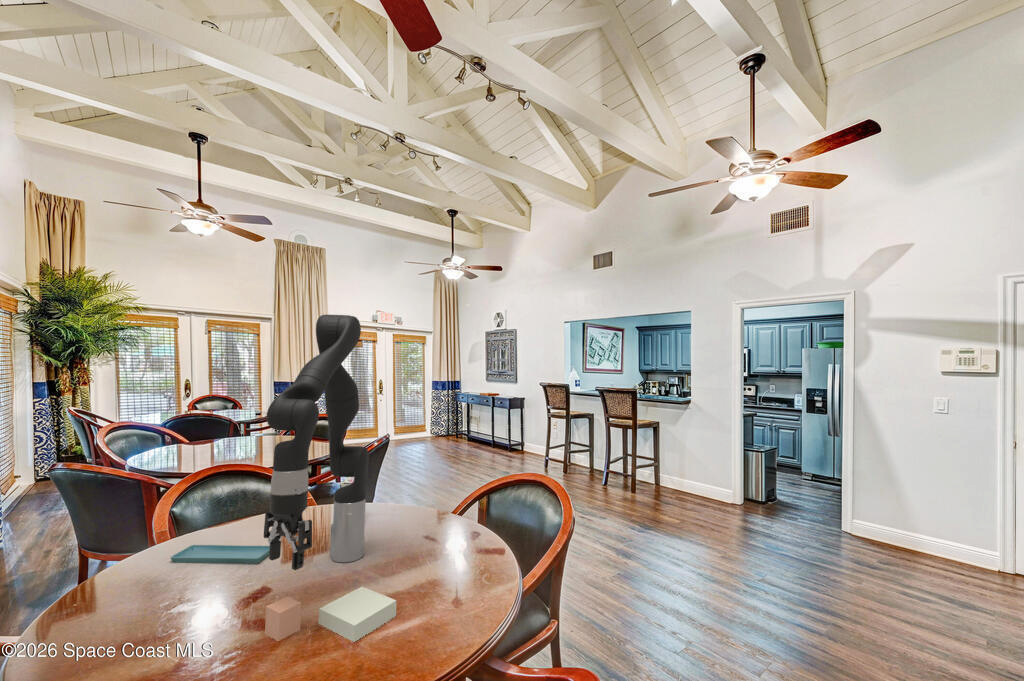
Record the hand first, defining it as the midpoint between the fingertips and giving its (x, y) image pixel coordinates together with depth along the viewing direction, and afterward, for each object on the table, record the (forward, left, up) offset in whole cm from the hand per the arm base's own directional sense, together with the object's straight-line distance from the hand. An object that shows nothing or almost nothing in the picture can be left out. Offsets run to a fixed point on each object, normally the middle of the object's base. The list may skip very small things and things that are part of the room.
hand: (285, 563), depth 98 cm
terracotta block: (0, 0, -15) cm, 15 cm away
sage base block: (+10, +12, -15) cm, 22 cm away
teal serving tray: (-50, +12, -15) cm, 54 cm away
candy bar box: (-42, +51, -15) cm, 68 cm away
